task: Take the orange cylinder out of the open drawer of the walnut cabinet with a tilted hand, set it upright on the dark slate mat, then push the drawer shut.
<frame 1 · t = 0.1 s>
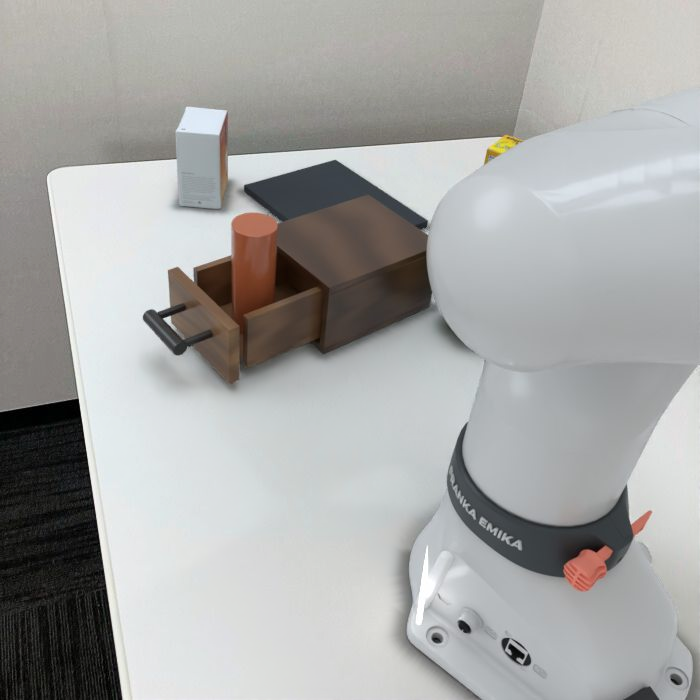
small box: (204, 195, 105), on the table
bell pepper: (471, 331, 87), on the table
mat: (334, 209, 105), on the table
orange cylinder: (252, 323, 81), point 2 cm above the table, touching drawer
cabinet: (343, 300, 89), on the table
drawer: (241, 309, 79), point 4 cm above the table, slide at 10.0 cm, touching orange cylinder
supplement box: (498, 222, 107), on the table
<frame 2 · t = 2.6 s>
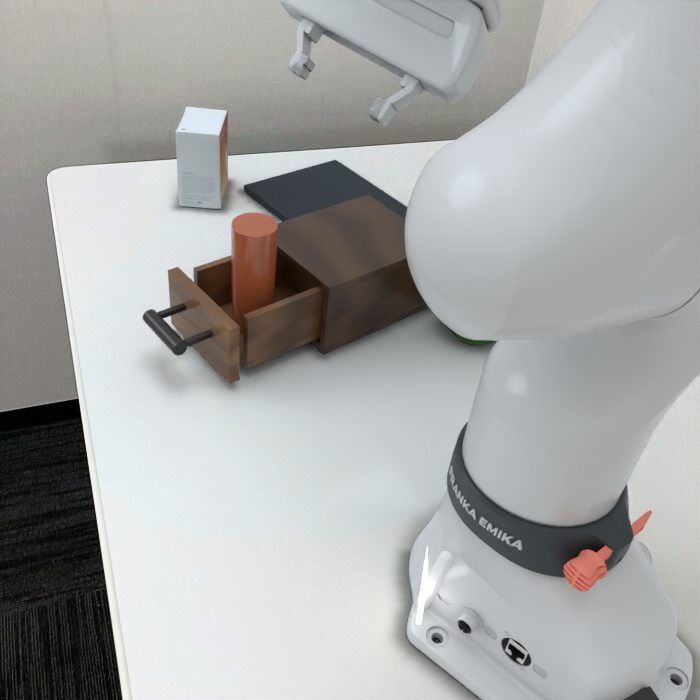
hand: (335, 97, 71), 25 cm above the table, tool tilted 40°, fingers open, 8 cm apart
nothing on the table moved.
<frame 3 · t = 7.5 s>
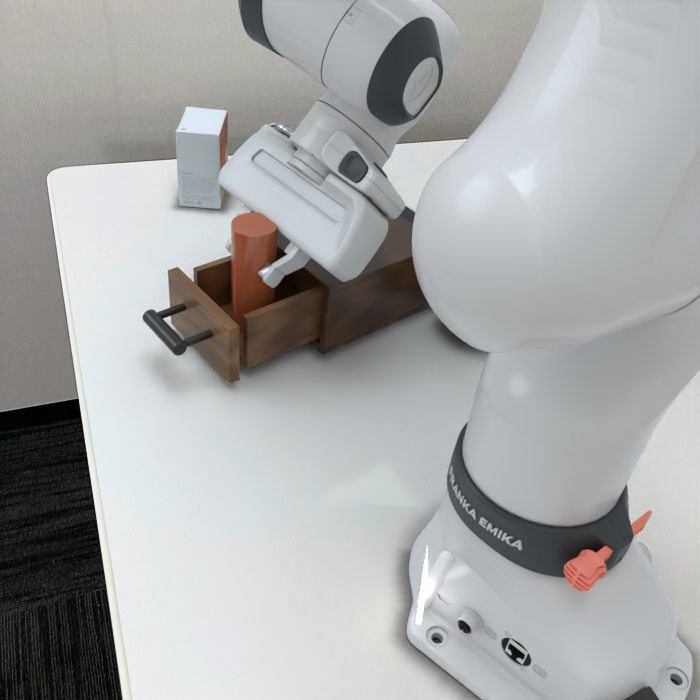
hand: (248, 268, 76), 9 cm above the table, tool tilted 45°, fingers closed on orange cylinder, 4 cm apart
orange cylinder: (252, 323, 81), point 2 cm above the table, touching drawer, gripper
everything else where it was.
when the fingers open (8 cm above the table, at t = 18.6 s): orange cylinder stays where it is, resting on mat.
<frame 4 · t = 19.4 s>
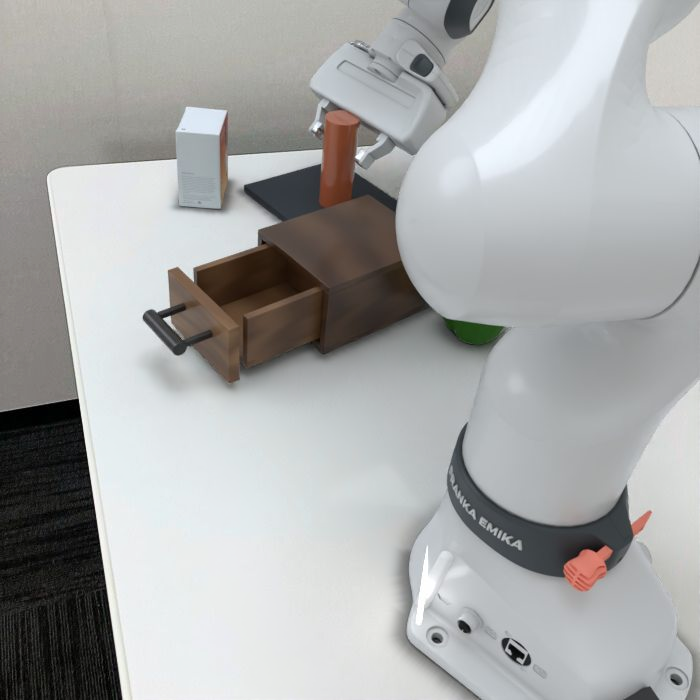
hand: (336, 150, 99), 9 cm above the table, tool tilted 45°, fingers open, 8 cm apart
orange cylinder: (334, 202, 104), point 1 cm above the table, touching mat
drawer: (241, 310, 79), point 4 cm above the table, slide at 10.0 cm
everything else where it was.
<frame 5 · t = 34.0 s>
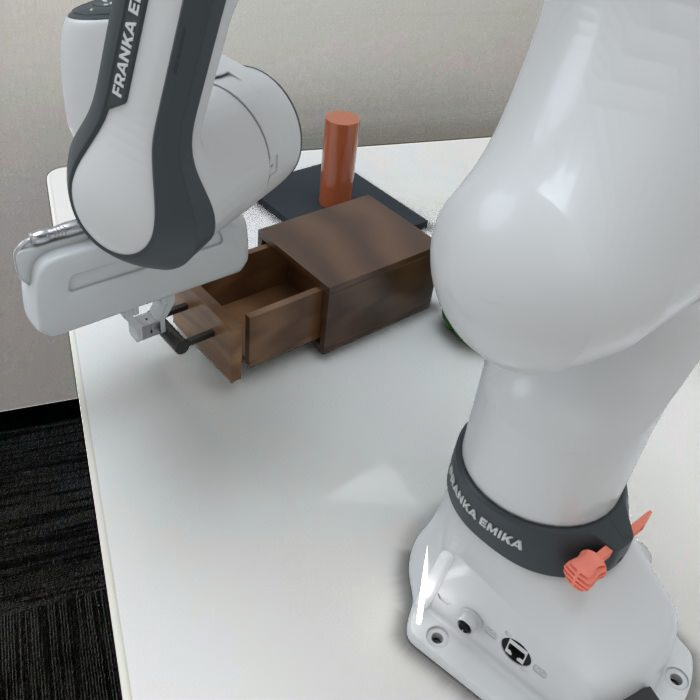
hand: (147, 333, 73), 6 cm above the table, tool pointing down, fingers closed
drawer: (243, 309, 79), point 4 cm above the table, slide at 9.8 cm, touching gripper
everything else where it was.
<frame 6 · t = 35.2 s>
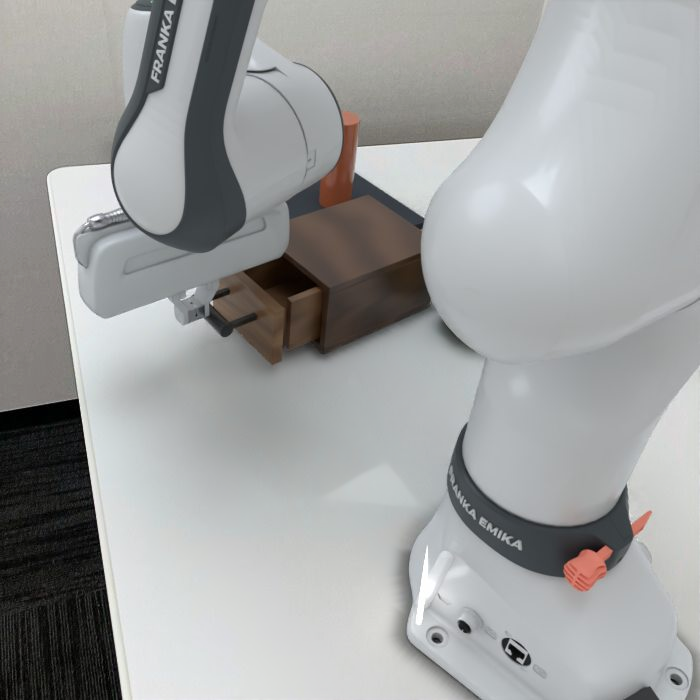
hand: (192, 317, 75), 6 cm above the table, tool pointing down, fingers closed
drawer: (282, 294, 82), point 4 cm above the table, slide at 4.9 cm, touching gripper
everything else where it was.
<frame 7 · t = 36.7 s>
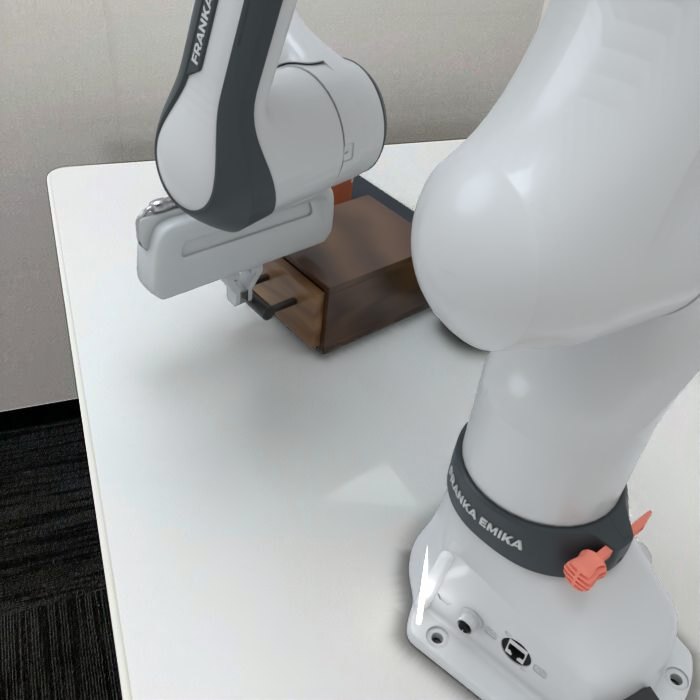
hand: (239, 300, 78), 6 cm above the table, tool pointing down, fingers closed
drawer: (319, 280, 84), point 4 cm above the table, slide at 0.0 cm, touching cabinet, gripper
everything else where it was.
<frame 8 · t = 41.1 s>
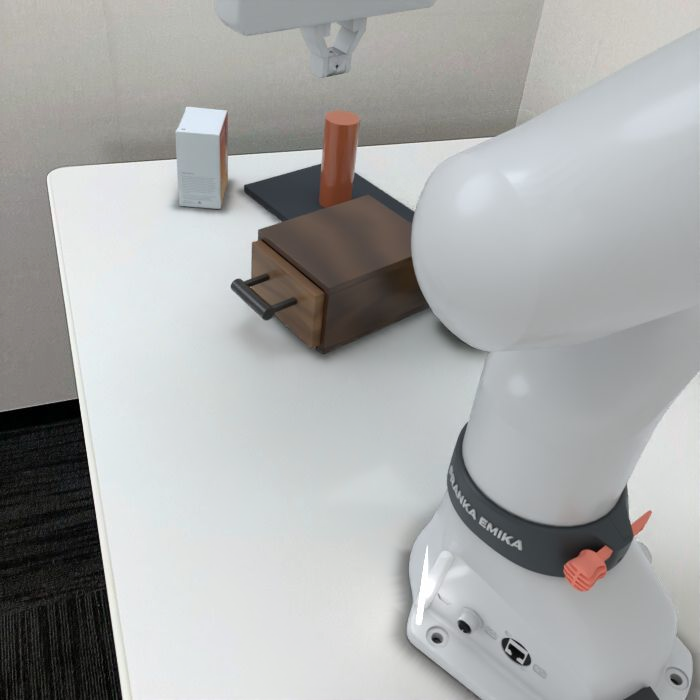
hand: (329, 73, 64), 29 cm above the table, tool pointing down, fingers closed
drawer: (319, 280, 84), point 4 cm above the table, slide at 0.0 cm
everything else where it was.
at the end: orange cylinder inside the target area on the mat (0.0 cm from its centre), point 1.0 cm above the mat's base; orange cylinder tilted 0°; drawer slide at 0.0 cm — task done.
